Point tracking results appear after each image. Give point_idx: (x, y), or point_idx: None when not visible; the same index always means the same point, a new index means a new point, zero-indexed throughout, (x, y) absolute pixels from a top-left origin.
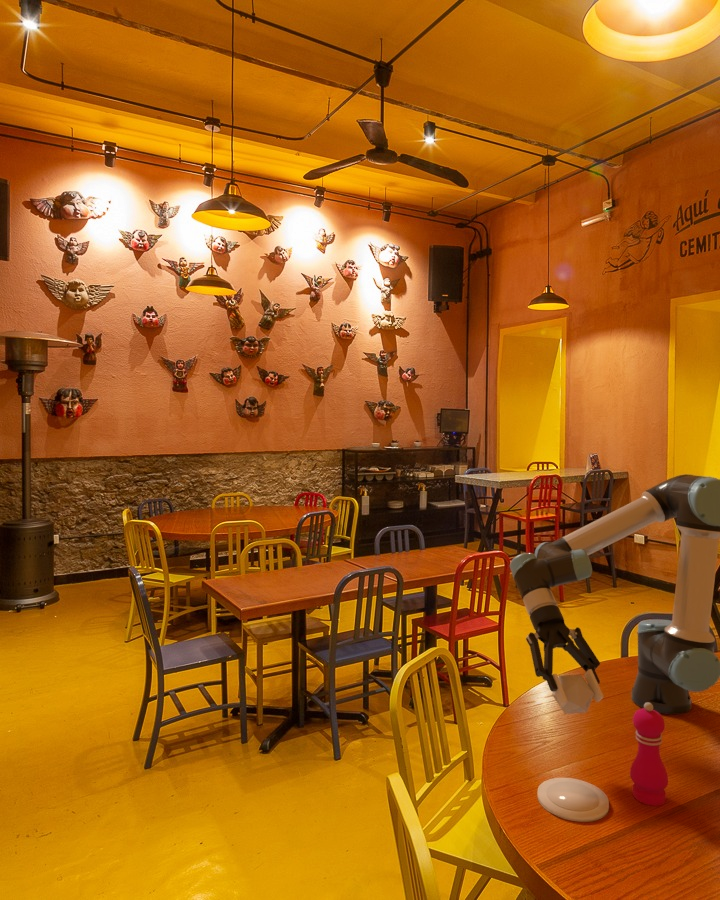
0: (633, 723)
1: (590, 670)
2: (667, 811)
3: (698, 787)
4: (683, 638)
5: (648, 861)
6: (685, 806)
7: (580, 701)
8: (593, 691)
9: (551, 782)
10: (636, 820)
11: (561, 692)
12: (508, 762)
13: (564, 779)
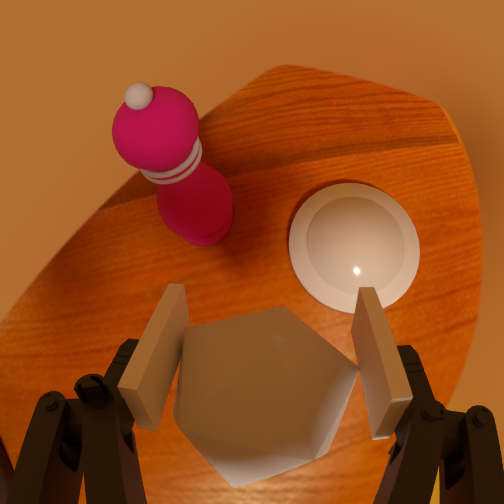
0: (192, 142)
1: (130, 380)
2: None
3: (105, 224)
4: None
5: (319, 104)
6: None
7: (278, 311)
8: (178, 342)
9: None
10: (275, 170)
11: (383, 316)
12: None
13: (341, 302)
